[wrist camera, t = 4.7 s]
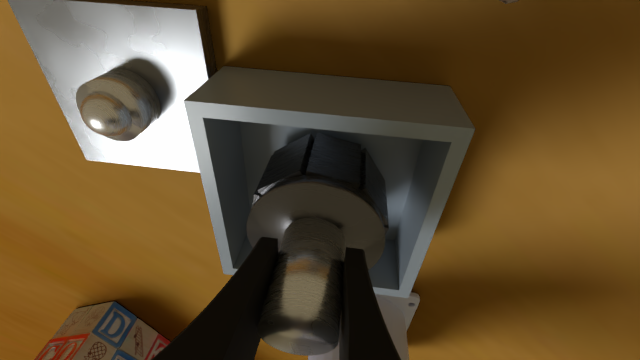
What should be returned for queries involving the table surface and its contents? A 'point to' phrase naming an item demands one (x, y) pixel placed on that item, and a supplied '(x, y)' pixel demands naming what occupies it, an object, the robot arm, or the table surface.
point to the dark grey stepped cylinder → (315, 236)
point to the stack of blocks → (103, 336)
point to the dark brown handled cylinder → (508, 1)
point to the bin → (340, 122)
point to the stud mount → (123, 74)
